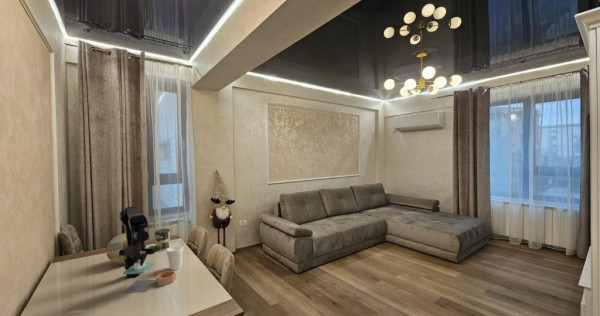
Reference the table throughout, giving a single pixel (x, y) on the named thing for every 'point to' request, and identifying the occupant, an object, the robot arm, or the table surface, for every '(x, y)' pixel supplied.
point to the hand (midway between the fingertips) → (139, 265)
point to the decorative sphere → (116, 248)
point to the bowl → (165, 278)
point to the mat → (140, 286)
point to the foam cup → (175, 257)
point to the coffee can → (162, 239)
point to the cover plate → (142, 270)
